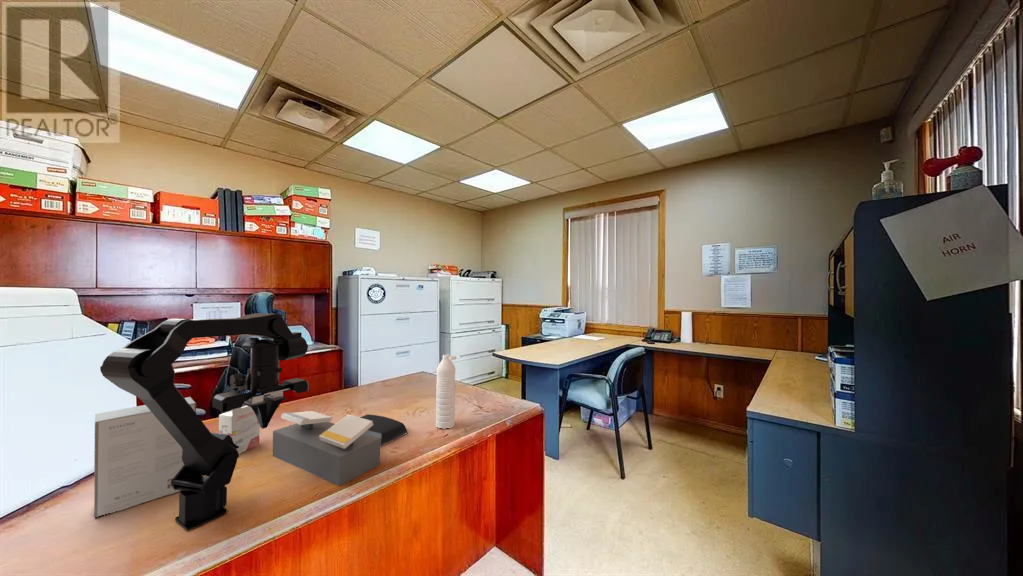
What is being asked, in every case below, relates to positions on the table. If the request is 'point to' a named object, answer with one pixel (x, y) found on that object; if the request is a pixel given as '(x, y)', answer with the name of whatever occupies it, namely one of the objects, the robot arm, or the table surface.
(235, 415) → the ink cartridge box
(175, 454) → the hard drive box
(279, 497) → the table surface
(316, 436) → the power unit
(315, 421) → the rocker grey
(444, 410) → the water bottle
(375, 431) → the external hard drive
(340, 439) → the rocker amber
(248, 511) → the table surface
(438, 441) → the table surface
